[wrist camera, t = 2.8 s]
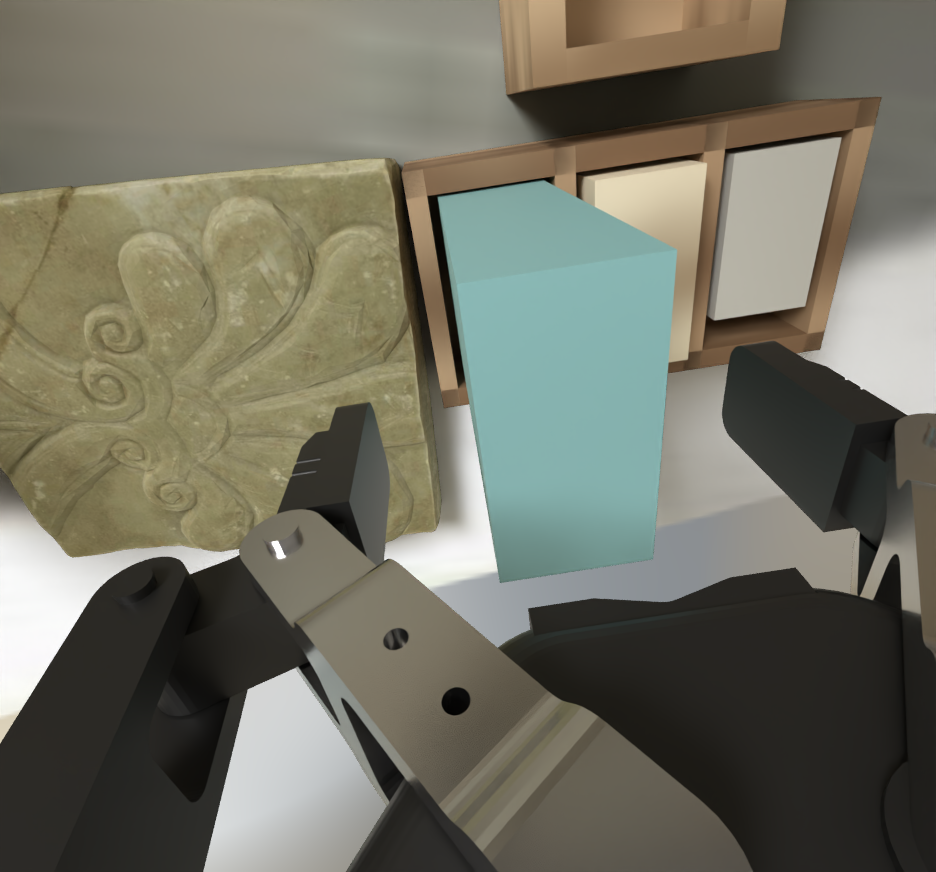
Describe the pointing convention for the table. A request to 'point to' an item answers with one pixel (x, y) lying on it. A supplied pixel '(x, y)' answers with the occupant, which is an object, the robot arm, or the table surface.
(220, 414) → the decorative tile
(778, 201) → the offcut
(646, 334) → the tall teal slab
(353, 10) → the table surface
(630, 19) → the holder
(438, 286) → the rack
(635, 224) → the offcut
